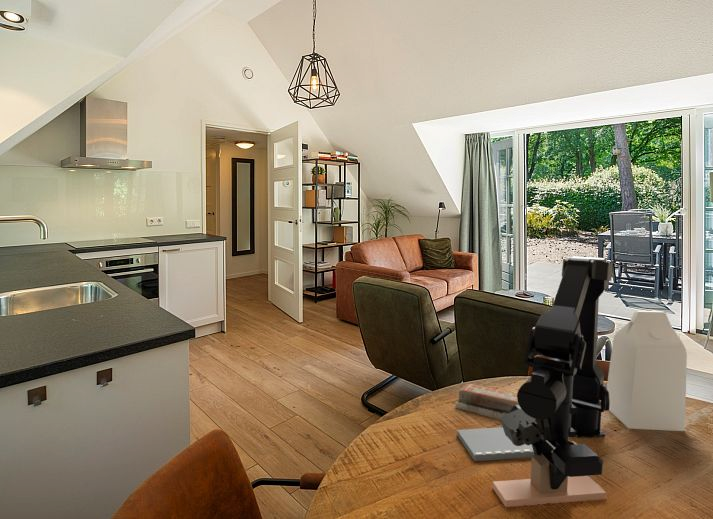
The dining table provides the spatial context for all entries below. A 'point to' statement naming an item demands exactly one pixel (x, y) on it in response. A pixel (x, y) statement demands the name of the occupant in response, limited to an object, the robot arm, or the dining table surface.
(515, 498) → the stub
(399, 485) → the dining table surface
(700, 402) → the dining table surface
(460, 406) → the packaged product
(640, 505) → the dining table surface
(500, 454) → the board
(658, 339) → the milk
